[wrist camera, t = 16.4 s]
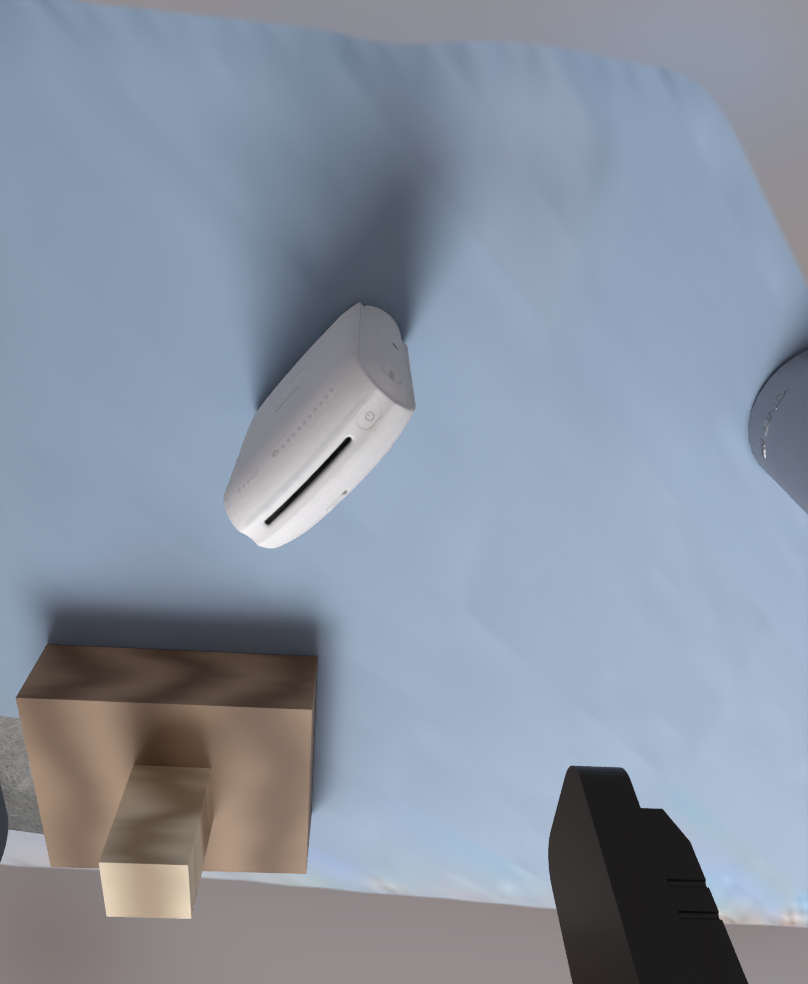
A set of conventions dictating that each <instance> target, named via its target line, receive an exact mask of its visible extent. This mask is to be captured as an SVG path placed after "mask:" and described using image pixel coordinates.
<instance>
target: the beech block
mask: <svg viewBox="0 0 808 984" xmlns="http://www.w3.org/2000/svg"><path fill="white" fill-rule="evenodd" d="M212 824H213V798H212V771H211V768H192V767H168V766H144V765H133V768H132V770H131V773H130V776H129V779H128V782H127V784H126V787H125V790H124V793H123V796H122V798H121V801H120V804H119V807H118V810H117V813H116V815H115V818H114V821H113V824H112V827H111V829H110V832H109V835H108V838H107V841H106V843H105V846H104V849H103V852H102V855H101V858H100V860H99V868H100V874H101V881H102V887H103V894H104V901H105V907H106V914H107V916H110V917H147V918H150V917H151V918H183V919H191V918H192V914H193V909H194V905H195V900H196V896H197V891H198V886H199V882H200V878H201V873H202V869H203V864H204V860H205V855H206V851H207V846H208V842H209V837H210V833H211V828H212Z"/></svg>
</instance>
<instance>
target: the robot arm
mask: <svg viewBox="0 0 808 984" xmlns="http://www.w3.org/2000/svg"><path fill="white" fill-rule="evenodd" d="M748 426H749V443H750V446H751V450H752V453H753V455H754V457H755V458H756V460H757V462H758V463H759V465H760V466H761V467H762V468H763V469H764V470H765V471H766V472H767V473H768V474H769V475H770V476H771V477H772V478H773V479H774V480H775V481H776V482H777V483H778V484H779V485H780V486H781V487H782V488H783V490H784V491H785V492H786V493H787V494H788V495H789V496H790V497H791V498H792V499H793V500H794V501H795V502H796V503H797V504H798V505H799V506H800V507H801V508H802V509H803V510H804V511H805V512H806V513H807V514H808V349H807V350H805V351H803V352H801V353H799V354H798V355H796V356H795V357H793V358H792V359H791V360H789V361H788V362H787V363H785V364H784V365H783V366H781V367H780V368H779V369H778V370H777V372H776V373H775V374H774V375H773V376H772V377H771V378H770V379H769V380H768V381H767V383H766V384H765V386H764V387H763V389H762V390H761V392H760V393H759V395H758V397H757V399H756V401H755V404H754V406H753V408H752V411H751V416H750V421H749V425H748ZM7 835H8V814H7V809H6V805H5V801H4V797H3V793H2V788H1V784H0V862H1V859H2V856H3V853H4V849H5V845H6V841H7ZM548 861H549V873H550V880H551V885H552V890H553V894H554V899H555V904H556V908H557V913H558V917H559V922H560V927H561V931H562V936H563V941H564V946H565V950H566V955H567V959H568V964H569V969H570V973H571V978H572V983H573V984H748V982H747V980H746V977H745V975H744V972H743V970H742V968H741V965H740V962H739V960H738V958H737V955H736V953H735V950H734V948H733V945H732V943H731V940H730V938H729V936H728V933H727V931H726V928H725V926H724V923H723V921H722V920H720V919H719V915H718V913H719V911H718V909H717V906H716V904H715V901H714V899H713V896H712V894H711V892H710V889H709V888H707V887H706V883H705V881H706V879H705V877H704V874H703V872H702V870H701V867H700V865H699V862H698V860H697V857H696V855H695V852H694V850H693V848H692V845H691V843H690V841H689V840H688V839H687V838H686V836H685V835H684V834H683V833H682V832H681V830H680V829H679V828H678V827H677V826H676V824H675V823H674V822H673V821H672V820H671V818H670V817H669V816H668V815H667V814H666V813H665V811H664V810H663V809H650V808H640V805H639V802H638V800H637V797H636V794H635V791H634V789H633V786H632V783H631V780H630V778H629V776H628V774H627V772H626V771H625V770H624V769H623V768H620V767H592V766H570V767H569V768H568V770H567V772H566V775H565V779H564V783H563V787H562V790H561V794H560V798H559V802H558V806H557V809H556V813H555V817H554V821H553V825H552V828H551V832H550V837H549V848H548Z"/></svg>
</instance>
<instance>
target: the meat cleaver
mask: <svg viewBox="0 0 808 984" xmlns="http://www.w3.org/2000/svg"><path fill="white" fill-rule="evenodd" d="M0 784H1V788H2V793H3V797H4V801H5V805H6V809H7V814H8V829H9V830H17V831H24V832H32V833H40V834H44V831H43V826H42V821H41V816H40V811H39V807H38V802H37V797H36V792H35V787H34V783H33V778H32V773H31V768H30V763H29V759H28V754H27V749H26V744H25V739H24V735H23V730H22V725H21V720H20V719H19V718H10V717H2V716H0Z"/></svg>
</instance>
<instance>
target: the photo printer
mask: <svg viewBox="0 0 808 984" xmlns="http://www.w3.org/2000/svg"><path fill="white" fill-rule="evenodd" d="M415 407H416V405H415V398H414V392H413V385H412V377H411V370H410V362H409V354H408V347H407V345H406V344H405V343H404V342H403V341H402V340H401V334H400V330H399V328H398V326H397V324H396V322H395V321H394V319H393V318H392V317H391V316H390V315H389V314H388V313H386V312H385V311H383V310H382V309H379V308H377V307H373V306H367V305H366V306H363V305H362V304H361V303H360V302H359V303H357V304H355V305H354V306H352V307H351V308H350V309H348V310H347V311H346V312H345V313H343V314H342V315H341V316H340V317H339V318H338V319H337V320H336V321H335V322H334V323H333V324H332V325H331V326H330V327H329V328H328V329H327V330H326V331H325V332H324V334H323V335H322V336H321V337H320V338H319V339H318V340H317V341H316V342H315V343H314V344H313V345H312V346H311V347H310V349H309V350H308V351H307V352H306V353H305V354H304V355H303V356H302V357H301V359H300V360H299V361H298V362H297V363H296V364H295V365H294V367H293V368H292V369H291V370H290V371H289V372H288V373H287V375H286V376H285V377H284V378H283V379H282V380H281V382H280V383H279V384H278V385H277V386H276V388H275V389H274V390H273V391H272V393H271V394H270V395H269V396H268V397H267V399H266V400H265V401H264V403H263V404H262V405H261V406H260V408H259V409H258V411H257V412H256V414H255V416H254V417H253V419H252V422H251V424H250V426H249V428H248V431H247V434H246V436H245V439H244V442H243V444H242V447H241V450H240V453H239V455H238V458H237V461H236V464H235V467H234V469H233V472H232V475H231V478H230V481H229V484H228V486H227V489H226V492H225V495H224V506H225V510H226V512H227V515H228V517H229V519H230V520H231V522H232V523H233V525H234V526H235V527H236V528H237V530H238V531H239V532H241V533H243V534H246V535H247V536H249V537H250V538H251V539H252V540H254V541H255V543H256V544H257V545H258V546H261V547H264V548H277V547H280V546H282V545H284V544H286V543H288V542H290V541H292V540H293V539H295V538H297V537H299V536H300V535H302V534H303V533H305V532H306V531H307V530H309V529H310V528H311V527H312V526H314V525H315V524H316V523H317V522H318V521H320V520H321V519H322V518H323V517H324V516H325V515H326V514H327V513H329V512H330V511H331V510H332V509H333V508H334V507H335V506H336V505H337V504H338V503H339V502H340V501H341V500H342V499H343V498H345V497H346V496H347V495H348V494H349V493H350V492H351V491H352V490H353V489H354V488H355V487H356V486H357V485H358V484H359V483H360V481H361V480H362V479H363V478H364V477H365V476H366V475H367V474H368V473H369V472H370V471H371V470H372V469H373V468H374V467H375V465H376V464H377V463H378V462H379V461H380V460H381V459H382V458H383V456H384V455H385V454H386V453H387V452H388V451H389V449H390V448H391V447H392V446H393V444H394V442H395V440H396V439H397V438H398V437H399V435H400V434H401V432H402V431H403V430H404V428H405V426H406V425H407V423H408V422H409V420H410V418H411V416H412V414H413V412H414V410H415Z"/></svg>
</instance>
